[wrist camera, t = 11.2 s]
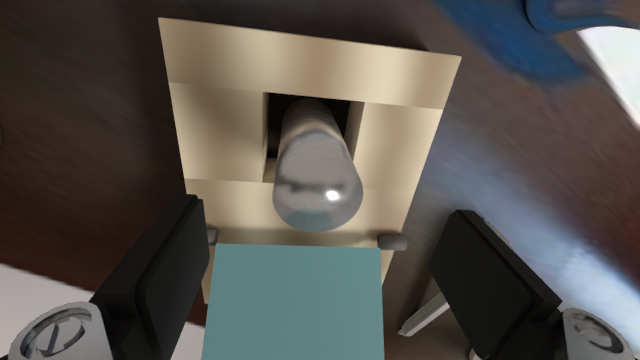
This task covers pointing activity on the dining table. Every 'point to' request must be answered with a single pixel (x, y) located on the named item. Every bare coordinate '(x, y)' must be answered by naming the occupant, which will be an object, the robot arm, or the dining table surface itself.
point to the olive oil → (0, 137)
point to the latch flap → (294, 303)
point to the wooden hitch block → (306, 80)
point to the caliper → (433, 305)
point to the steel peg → (314, 171)
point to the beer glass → (582, 15)
